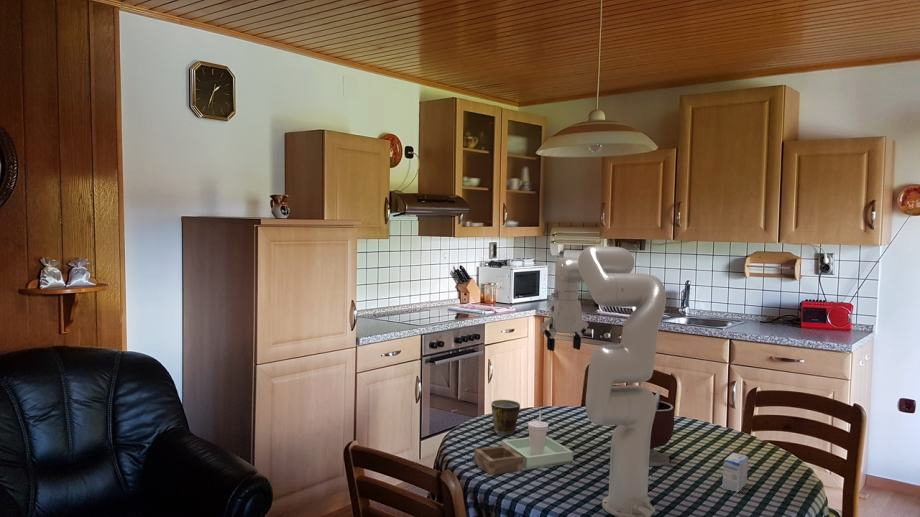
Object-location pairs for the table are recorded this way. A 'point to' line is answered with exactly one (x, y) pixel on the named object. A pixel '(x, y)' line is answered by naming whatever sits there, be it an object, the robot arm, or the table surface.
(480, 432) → the table surface
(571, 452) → the tray
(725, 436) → the table surface
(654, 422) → the mate gourd
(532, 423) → the smoothie
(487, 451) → the socket block
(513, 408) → the ceramic cup
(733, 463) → the medicine box
